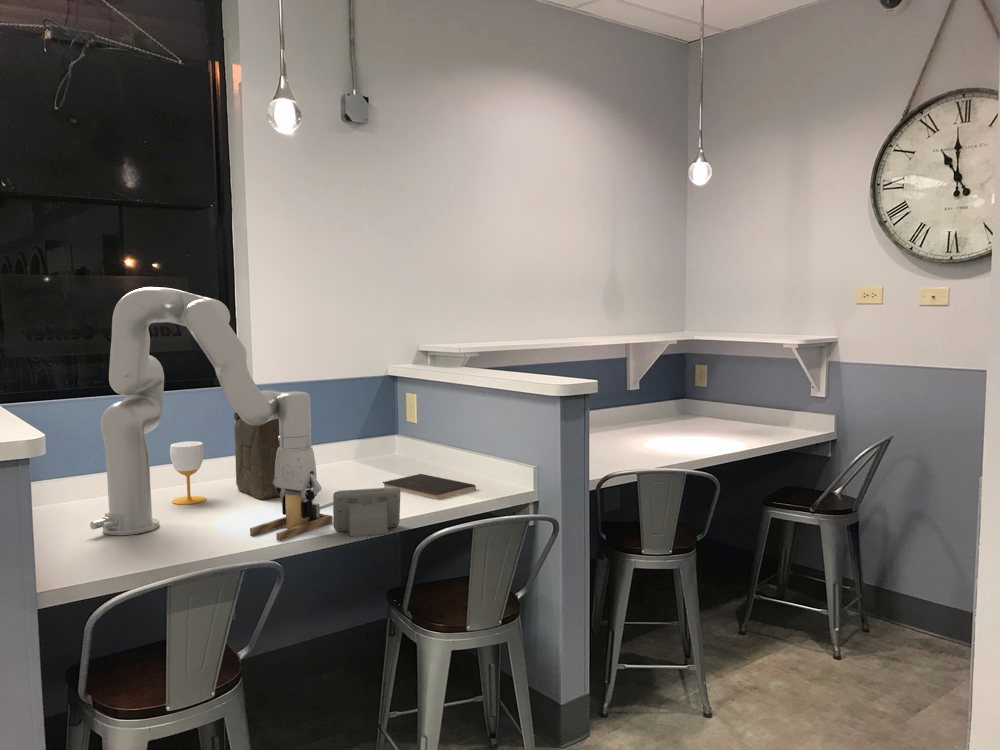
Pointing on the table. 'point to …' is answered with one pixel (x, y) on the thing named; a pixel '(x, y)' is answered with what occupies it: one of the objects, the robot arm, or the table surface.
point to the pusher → (318, 510)
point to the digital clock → (366, 510)
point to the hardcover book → (429, 486)
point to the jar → (294, 508)
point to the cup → (187, 466)
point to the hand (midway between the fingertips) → (297, 514)
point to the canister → (256, 457)
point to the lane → (292, 531)
